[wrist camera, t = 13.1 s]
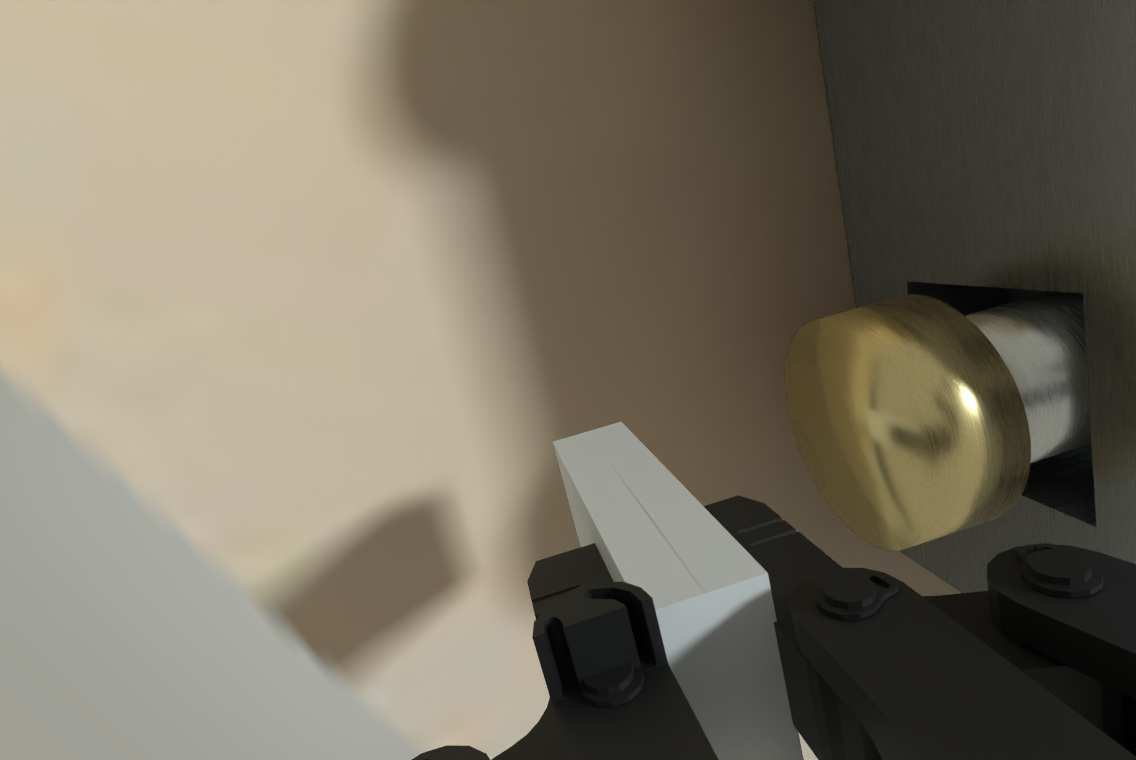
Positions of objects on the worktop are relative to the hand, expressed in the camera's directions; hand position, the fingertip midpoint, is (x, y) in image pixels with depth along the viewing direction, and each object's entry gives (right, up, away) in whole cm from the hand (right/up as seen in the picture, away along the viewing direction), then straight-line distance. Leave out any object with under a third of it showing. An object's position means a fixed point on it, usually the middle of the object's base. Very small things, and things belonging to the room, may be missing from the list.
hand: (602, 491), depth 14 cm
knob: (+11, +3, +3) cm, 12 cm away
